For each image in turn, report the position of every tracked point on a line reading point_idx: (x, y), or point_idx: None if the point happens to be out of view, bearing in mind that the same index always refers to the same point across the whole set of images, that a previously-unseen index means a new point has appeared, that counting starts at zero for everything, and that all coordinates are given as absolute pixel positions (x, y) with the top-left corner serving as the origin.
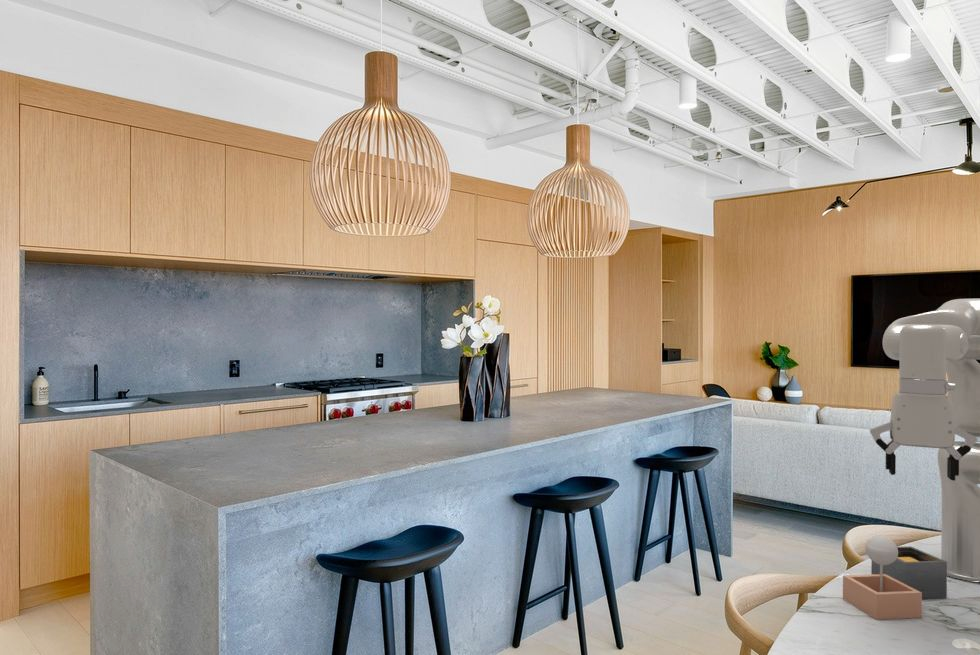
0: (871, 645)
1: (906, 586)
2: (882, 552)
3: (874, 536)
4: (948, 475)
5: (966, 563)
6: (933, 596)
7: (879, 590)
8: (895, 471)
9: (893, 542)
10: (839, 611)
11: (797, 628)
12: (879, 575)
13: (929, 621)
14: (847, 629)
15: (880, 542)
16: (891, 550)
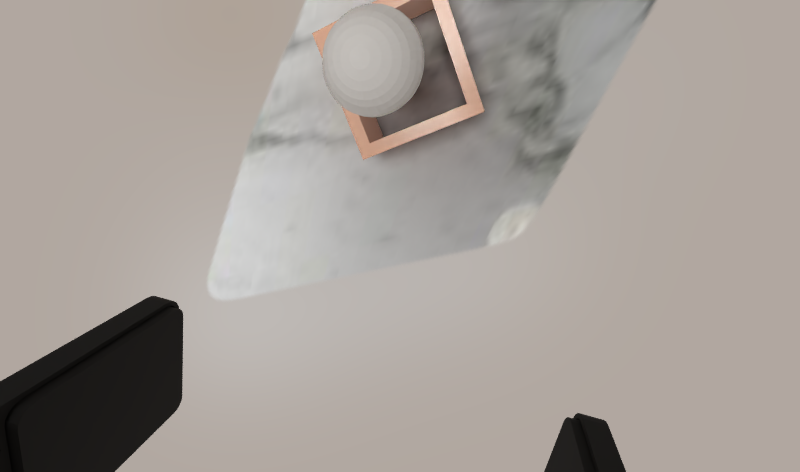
0: (337, 274)
1: (461, 71)
2: (361, 115)
3: (337, 54)
4: (555, 468)
5: None
6: None
7: (420, 8)
8: (164, 421)
9: (399, 77)
10: (313, 128)
11: (228, 234)
12: None
13: (493, 129)
14: (311, 217)
15: (350, 97)
16: (387, 109)
